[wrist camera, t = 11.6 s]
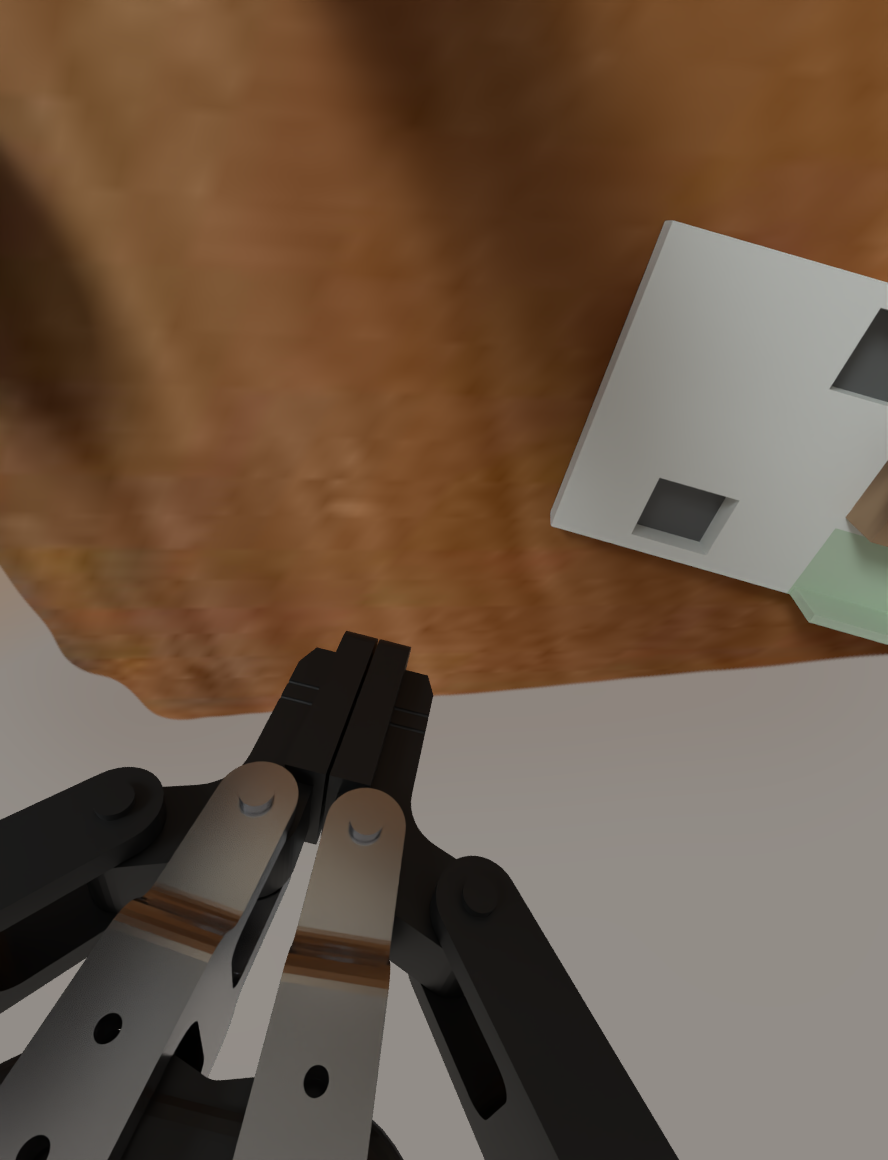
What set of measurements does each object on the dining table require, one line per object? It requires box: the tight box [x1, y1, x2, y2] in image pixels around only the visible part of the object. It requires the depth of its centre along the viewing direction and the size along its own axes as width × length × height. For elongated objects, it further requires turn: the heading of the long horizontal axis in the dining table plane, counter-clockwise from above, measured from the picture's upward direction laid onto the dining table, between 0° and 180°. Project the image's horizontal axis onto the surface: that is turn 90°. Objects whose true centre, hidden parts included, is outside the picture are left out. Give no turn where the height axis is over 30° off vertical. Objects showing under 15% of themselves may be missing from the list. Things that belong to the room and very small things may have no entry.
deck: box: [550, 220, 888, 645], centre depth 30 cm, size 17×24×5 cm
